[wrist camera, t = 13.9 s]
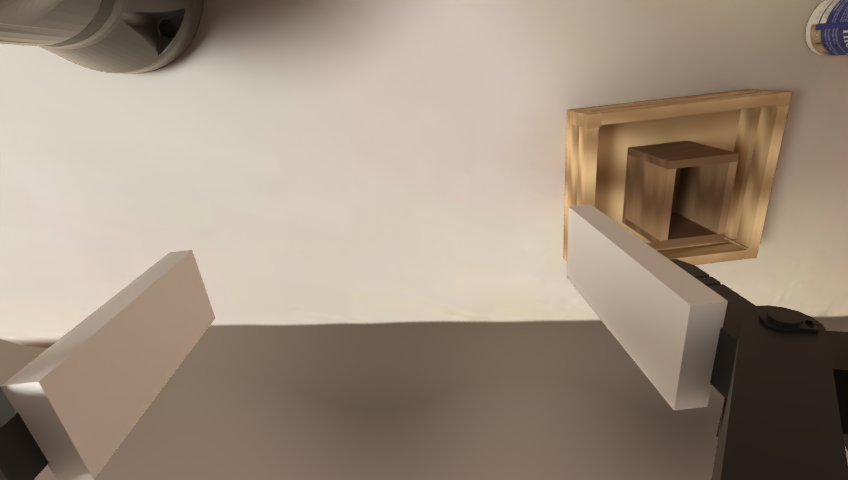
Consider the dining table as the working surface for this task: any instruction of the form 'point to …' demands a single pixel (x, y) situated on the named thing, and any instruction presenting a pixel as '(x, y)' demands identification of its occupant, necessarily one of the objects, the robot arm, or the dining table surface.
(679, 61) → the dining table surface
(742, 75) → the dining table surface
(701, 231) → the walnut crate
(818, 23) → the pill bottle
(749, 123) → the oak crate
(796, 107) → the dining table surface
